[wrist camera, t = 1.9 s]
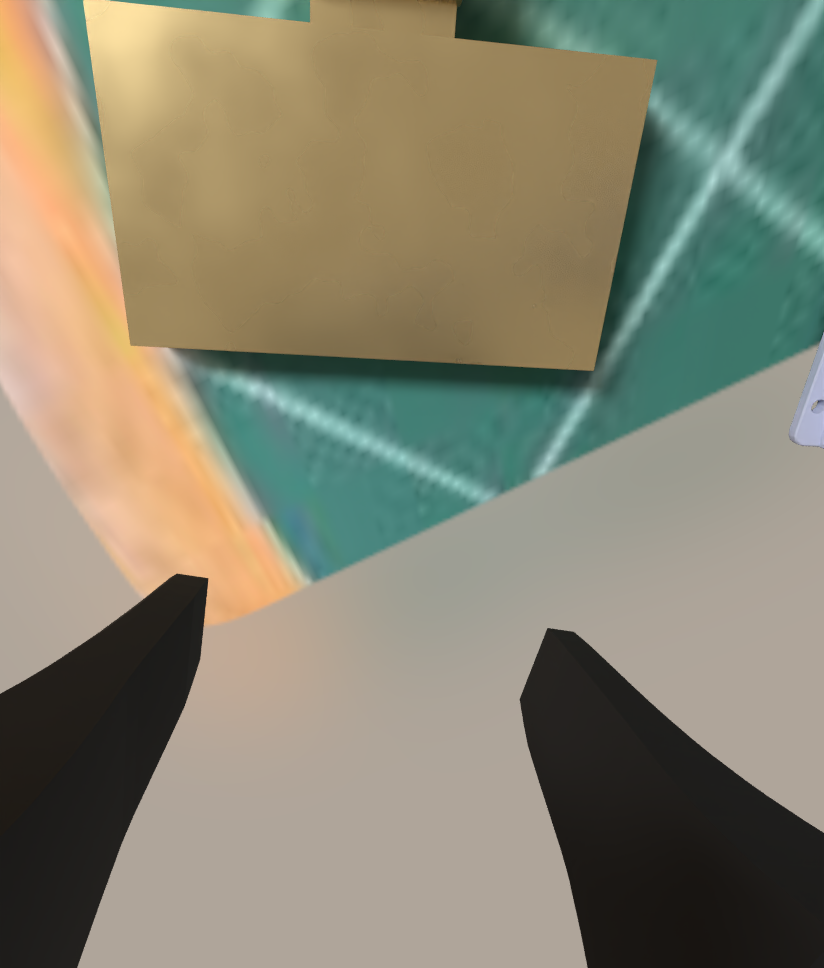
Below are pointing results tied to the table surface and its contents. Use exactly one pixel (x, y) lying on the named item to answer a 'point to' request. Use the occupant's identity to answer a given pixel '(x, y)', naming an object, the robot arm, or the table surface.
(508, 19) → the table surface
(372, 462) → the table surface
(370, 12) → the brass leaf
